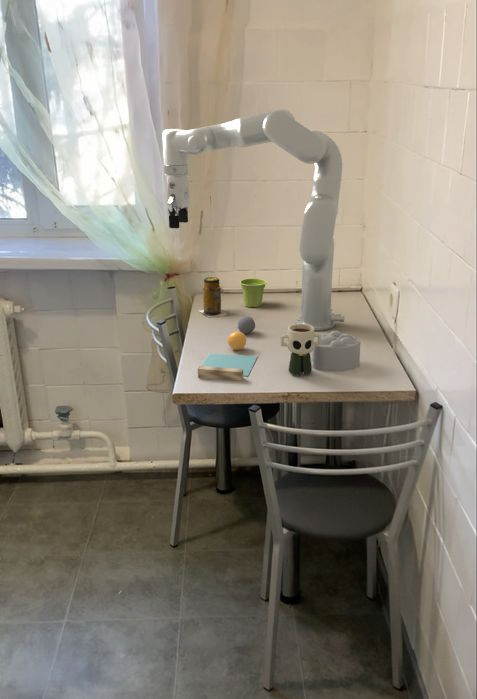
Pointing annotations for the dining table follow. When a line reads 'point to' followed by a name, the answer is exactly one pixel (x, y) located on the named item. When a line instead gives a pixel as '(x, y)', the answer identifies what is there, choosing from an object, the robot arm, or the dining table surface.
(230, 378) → the wall
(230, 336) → the orange ball
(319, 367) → the lumpy-topped squat cylinder
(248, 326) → the gray ball
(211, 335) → the dining table surface
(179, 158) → the robot arm
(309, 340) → the character mug
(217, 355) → the teal mark
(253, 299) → the plant pot
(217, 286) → the condiment
